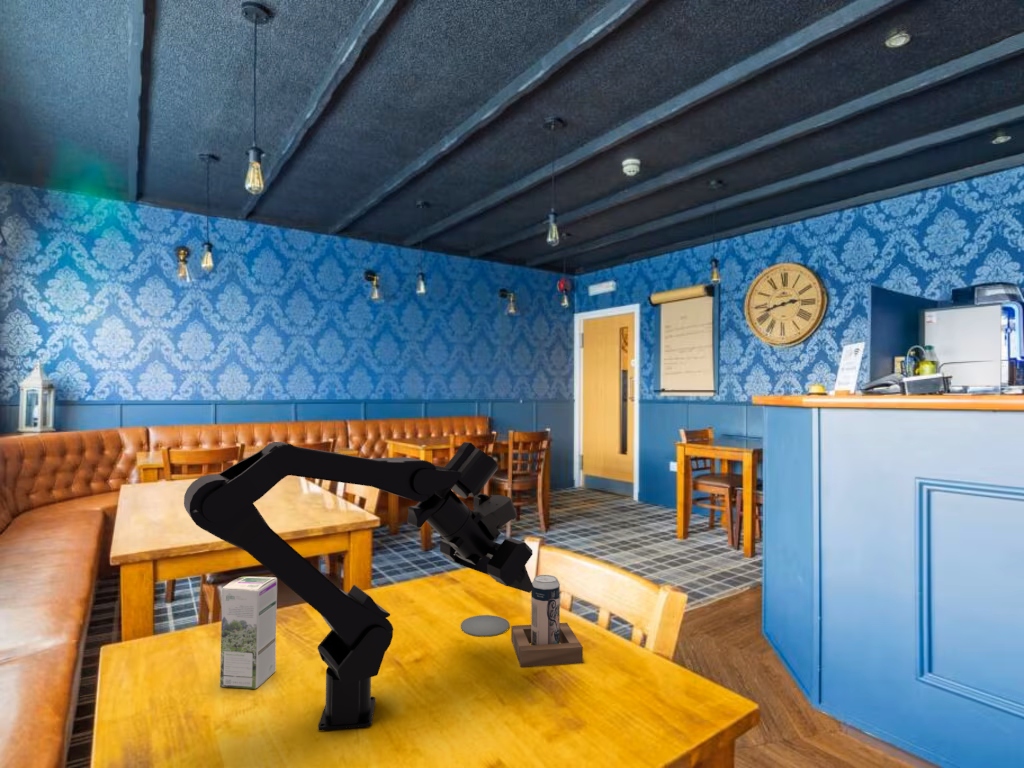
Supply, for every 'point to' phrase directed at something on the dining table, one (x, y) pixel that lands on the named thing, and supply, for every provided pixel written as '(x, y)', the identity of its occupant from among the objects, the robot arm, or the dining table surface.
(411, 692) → the dining table surface
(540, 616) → the beer can
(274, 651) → the syrup box
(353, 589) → the robot arm
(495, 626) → the coaster
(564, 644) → the socket block
